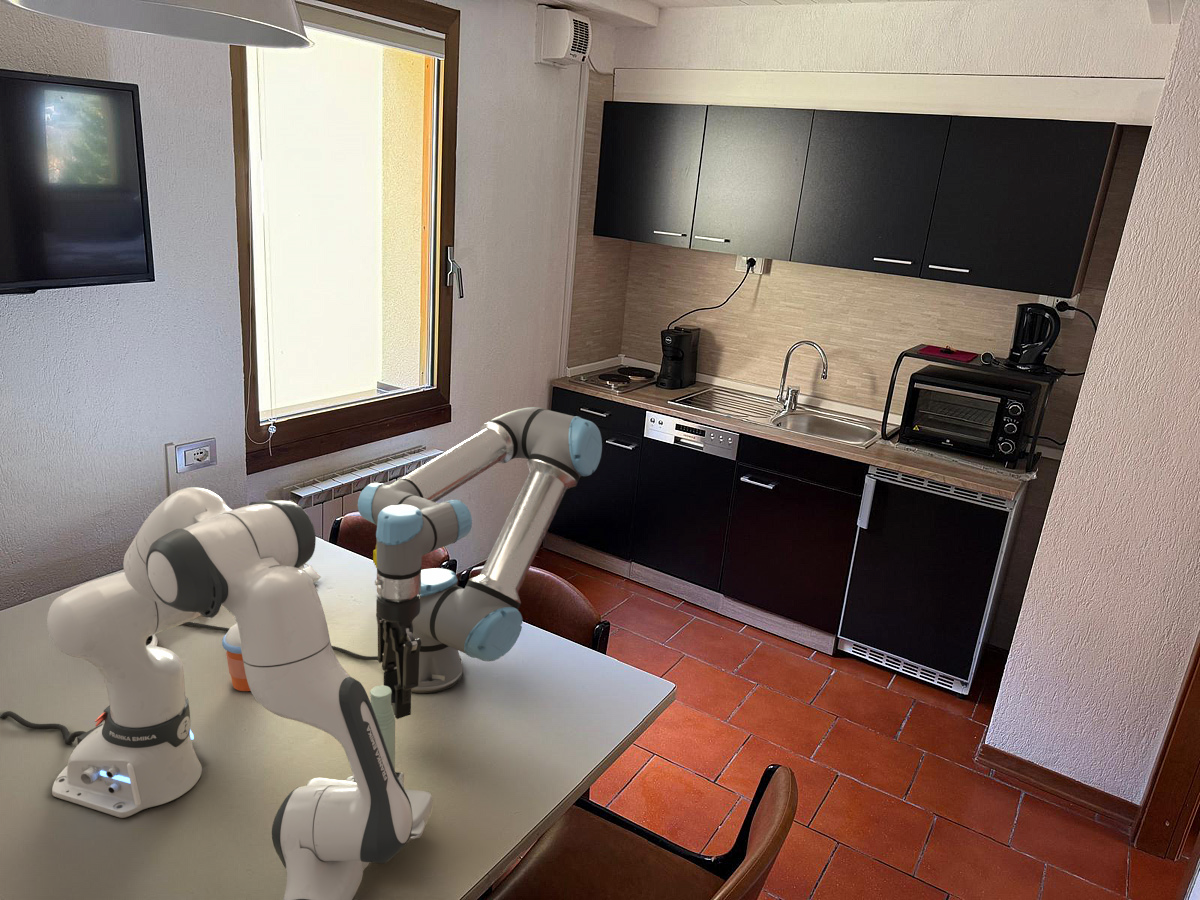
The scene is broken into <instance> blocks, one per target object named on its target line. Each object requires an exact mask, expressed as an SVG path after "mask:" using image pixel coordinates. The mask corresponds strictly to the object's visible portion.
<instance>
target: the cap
mask: <svg viewBox="0 0 1200 900" xmlns="http://www.w3.org/2000/svg"><path fill="white" fill-rule="evenodd" d="M395 691H396V690H392V694H391V705H392V708H393V712H394V715H395Z"/></svg>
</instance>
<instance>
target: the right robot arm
mask: <svg viewBox="0 0 1200 900" xmlns="http://www.w3.org/2000/svg"><path fill="white" fill-rule="evenodd" d="M602 439H603V438H602V434H601V431H600V429H599V427H598V426H597V425H596V423H594V422H593V421H591V420H588V419H585V418H582V417H581V416H578V415H576V416H574V415H570V414H567V413H562V412H558V411H554V410H550V409H546V408H542V407H539V406H538V407H537V406H535V407H534V406H529V407H523V408H518V409H515V410H511V411H508V412H506V413H503V414H501V415H498V416H496V417H494V418H492V419H490V420H489V421H487V422H484V424H482V425H481V426H480V428H479V431H478V433H475V434H473V435H472V436H471V437H469V438H467V439H465V440H463V441H462V442H460V443H459V444H457V445H455V446H453V447H452V448H450V449H449V450H447V451H445V452H444V453H442V454H440V455H438V456H436V457H434V458H433V459H431V460H430V461H428V462H426V463H425V464H423V465H421V466H419V467H418V468H416V469H414V470H413V471H411V472H409V473H407V474H406V475H404V476H403V477H400V478H399V479H398V480H396V481H394V482H392V483H390V484H386V483H383V482H381V483H380V482H371V483H368V484H367V485H366V486H364V488H363V489H362V490H361V491H360V494H359V497H358V498H357V510H358V514H359V515H360V516H361V517H362V518H363V519H364V520H366V521H368V522H369V523H372V524H374V525H375V526H376V530H375V538H376V545H377V568H376V580H374V585H375V586H376V593H377V594H376V600H375V601H376V606H375V607H376V613H375V616H376V621H377V623H376V624H377V655H375V656H373V655H371V656H368V655H362V654H358V653H355V652H352V651H349V650H347V649H345V648H341V647H338V646H335V645H331V646H332V649H333V651H336V652H338V653H342V654H344V655H347V656H350V657H352V658H354V659H358V660H364V661H377V662H378V663H379V664H381V669H382V670H383V685H384V686H388V687H390V689H391V691H392V690H396V691H395V720H399V719H402V718H405V717H409V716H411V715H412V693H416V694H430V693H431V694H432V693H438V692H441V691H445V690H447V689H450V688H451V687H453V686H455V685H456V684H457V683H458V682H459V681H460V680H461V679H462V676H463V672H464V664H463V660H462V657H461V656H460V653H459V652H461V653H463V654H465V655H466V656H467V657H470V658H473V659H478V660H480V661H483V662H494V661H497V660H499V659H501V658H502V657H504V656H505V655H507V654H508V653H509V652H510V651H511V649H512V648H513V647H514V646H515V644H516V643H517V641H518V639H519V637H520V635H521V632H522V628H523V627H522V624H523V615H522V613H521V612H520V611H519V609H520V607H521V604H522V602H521V601H522V600H521V599H520V595H519V592H520V589H521V587H522V585H523V583H524V581H525V579H526V576H527V574H528V572H529V570H530V568H531V566H532V564H533V562H534V560H535V557H536V555H537V553H538V551H539V549H540V547H541V545H542V542H543V541H544V538H545V536H546V534H547V532H548V530H549V528H550V526H551V524H552V521H553V520H554V517H555V515H556V513H557V510H558V509H559V506H560V505H561V502H562V500H563V498H564V496H565V494H566V492H567V491H568V489H571V488H574V487H577V486H578V485H577V484H578V483H579V480H580V478H581V477H588V476H591V475H592V474H593V473H595V472H596V470H597V469H598V467H599V464H600V462H601V459H602V453H603V443H602V442H603V441H602ZM513 459H514V460H515V459H526V460H527V461H526V465H527V468H528V470H529V473H528V475H527V478H526V479H525V481H524V484H523V485H522V487H521V490H520V491H519V494H518V495H517V498H516V499H515V501H514V504H513V505H512V508H511V510H510V512H509V513H508V516H507V518H506V520H505V522H504V524H503V526H502V528H501V531H500V532H499V534H498V536H497V539H496V540H495V543H494V544H493V547H492V549H491V551H490V553H489V555H488V557H487V559H486V561H485V563H484V565H483V567H482V569H481V571H480V573H479V574H478V575H476V576H474V577H473V576H472V577H471V578H469V579H468V580H467V583H466V585H465V587H464V588H463V587H462V586H458V582H459V581H458V580H459V579H458V577H457V574H456V572H454V571H453V570H450V569H447V568H440V567H436V568H435V567H434V568H424V569H422V560H423V559H422V558H423V556H425V555H428V554H429V553H432V552H434V551H436V550H439V549H441V548H445V547H448V546H449V545H452V544H456V543H457V542H458V541H460V540H462V539H463V538H465V537H467V536H468V535H469V534H470V532H471V530H472V527H473V516H472V512H471V511H470V509H469V507H468V506H467V505H466V504H465V503H464V502H463V501H461V500H460V499H450V500H449V499H448V500H444V501H442V502H438V501H440V500H442V499H443V498H445V497H446V496H447V495H449V494H451V493H453V492H454V491H455V490H457V489H459V488H460V487H462V486H463V485H465V484H466V483H468V482H470V481H472V480H473V479H475V478H476V477H478V476H479V475H480V474H482V473H484V472H485V471H487V470H488V469H490V468H491V467H493V466H495V465H496V464H506V463H508V462H510V461H512V460H513ZM182 625H185V626H190V627H197V628H201V629H202V628H204V629H207V630H213V631H220V632H226V633H227V632H228V630H229V629H230V628H231V627H223V626H217V625H211V624H205V623H199V622H194V623H193V621H189V622H186V623H183V624H182Z"/></svg>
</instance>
